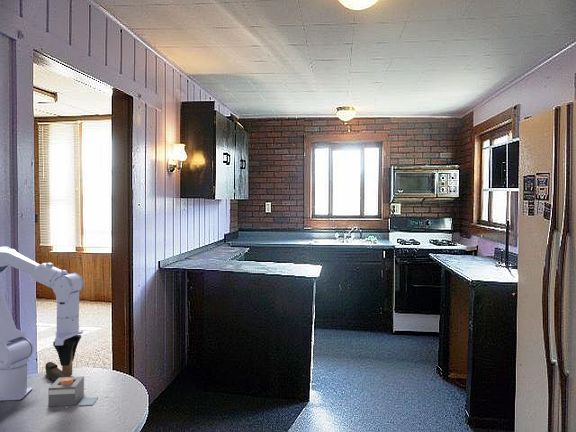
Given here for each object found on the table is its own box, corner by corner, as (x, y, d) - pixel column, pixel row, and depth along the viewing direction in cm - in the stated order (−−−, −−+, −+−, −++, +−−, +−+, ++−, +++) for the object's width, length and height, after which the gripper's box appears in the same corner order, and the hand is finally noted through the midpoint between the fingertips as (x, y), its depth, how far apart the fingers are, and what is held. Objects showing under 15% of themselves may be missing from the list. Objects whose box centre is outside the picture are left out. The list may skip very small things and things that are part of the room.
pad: (77, 406, 122) (77, 405, 122) (83, 398, 127) (83, 397, 127) (92, 405, 123) (92, 404, 123) (97, 398, 128) (97, 397, 128)
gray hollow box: (48, 406, 122) (48, 388, 122) (58, 394, 130) (58, 377, 130) (74, 405, 123) (75, 387, 123) (83, 393, 131) (84, 376, 131)
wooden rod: (60, 377, 125) (61, 345, 125) (63, 373, 127) (64, 342, 127) (70, 376, 125) (71, 345, 125) (73, 373, 128) (73, 342, 128)
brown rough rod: (76, 388, 135) (76, 373, 135) (62, 392, 132) (62, 376, 132) (55, 372, 148) (56, 358, 148) (42, 375, 146) (43, 361, 146)
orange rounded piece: (58, 391, 125) (58, 382, 125) (62, 386, 128) (62, 378, 128) (70, 390, 125) (70, 382, 125) (74, 386, 128) (74, 378, 128)
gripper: (74, 321, 120) (73, 371, 120) (89, 310, 134) (89, 355, 134) (46, 322, 119) (46, 372, 119) (65, 310, 133) (64, 355, 133)
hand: (67, 363), depth 126 cm, fingers closed on wooden rod, 3 cm apart
